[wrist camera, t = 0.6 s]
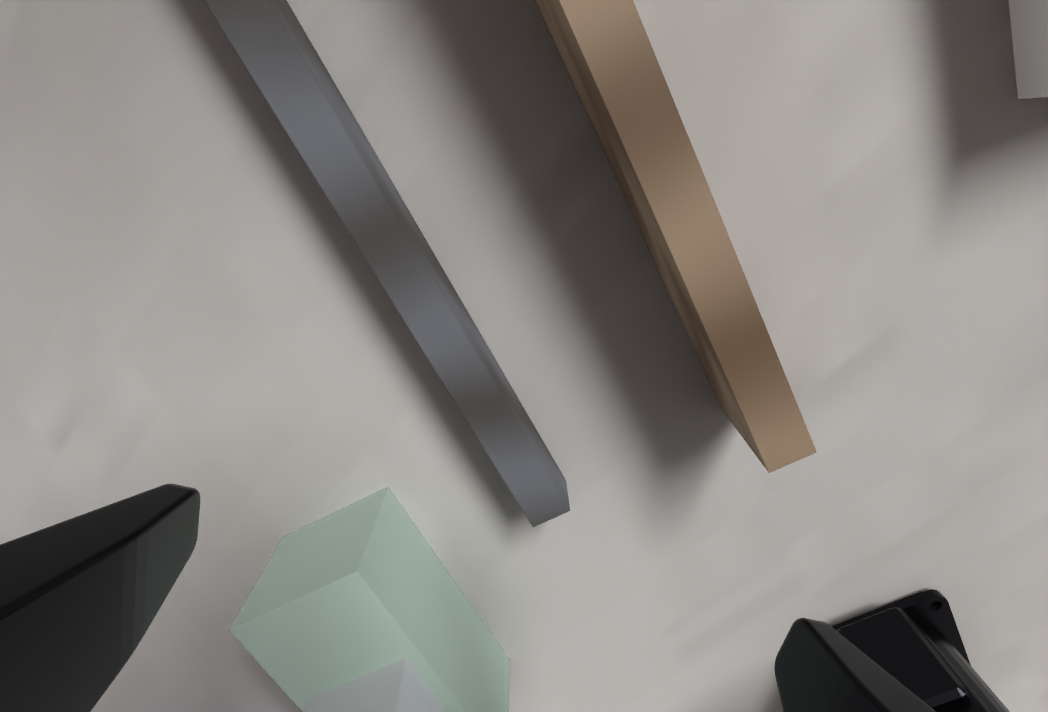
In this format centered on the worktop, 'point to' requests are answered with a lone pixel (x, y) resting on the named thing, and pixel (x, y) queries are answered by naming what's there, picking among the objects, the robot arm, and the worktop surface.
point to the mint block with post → (370, 620)
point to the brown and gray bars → (645, 179)
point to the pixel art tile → (1030, 46)
